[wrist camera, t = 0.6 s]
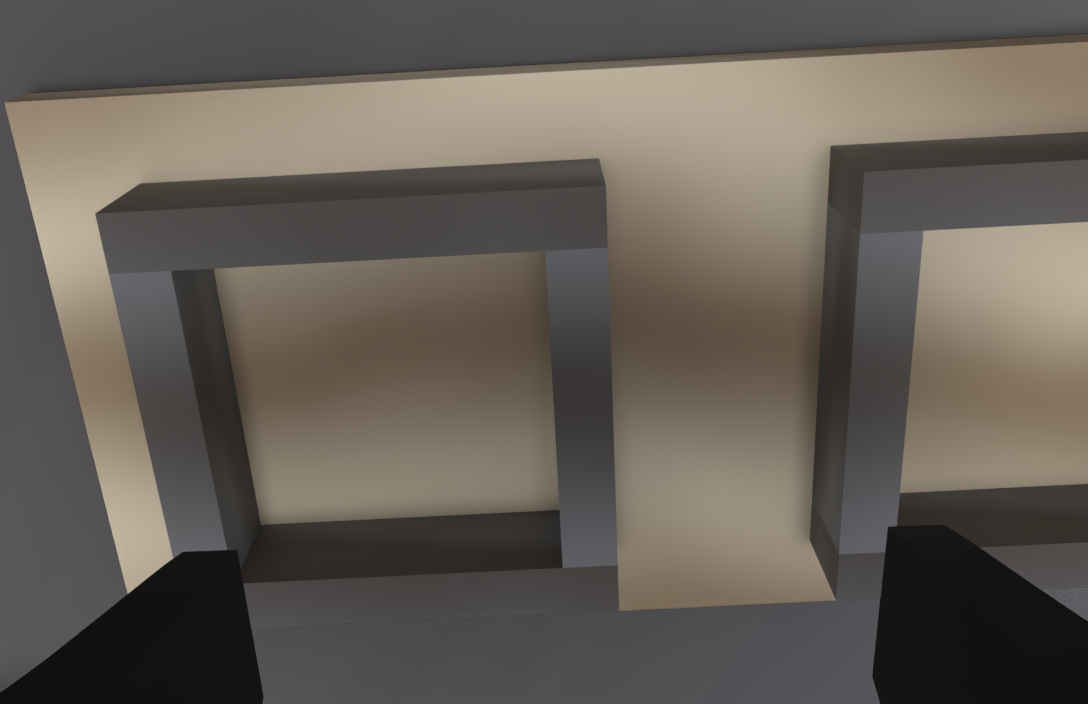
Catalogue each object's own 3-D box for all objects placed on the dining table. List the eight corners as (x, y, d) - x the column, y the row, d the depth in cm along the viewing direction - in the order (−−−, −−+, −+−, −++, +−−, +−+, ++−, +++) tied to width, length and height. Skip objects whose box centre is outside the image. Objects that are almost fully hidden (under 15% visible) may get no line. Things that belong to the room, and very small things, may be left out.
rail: (1261, 551, 22) (1363, 640, 20) (153, 604, 23) (100, 700, 20) (1395, 16, 18) (1550, 34, 15) (31, 93, 18) (-59, 124, 16)
